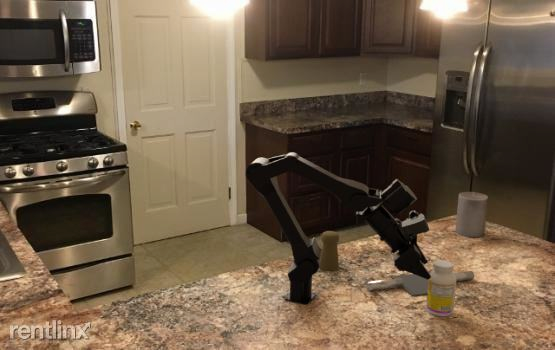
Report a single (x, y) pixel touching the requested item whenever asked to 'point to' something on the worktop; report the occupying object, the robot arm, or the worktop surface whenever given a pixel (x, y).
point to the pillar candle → (471, 214)
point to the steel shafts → (399, 282)
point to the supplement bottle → (441, 289)
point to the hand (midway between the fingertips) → (427, 270)
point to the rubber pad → (414, 284)
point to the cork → (329, 252)
